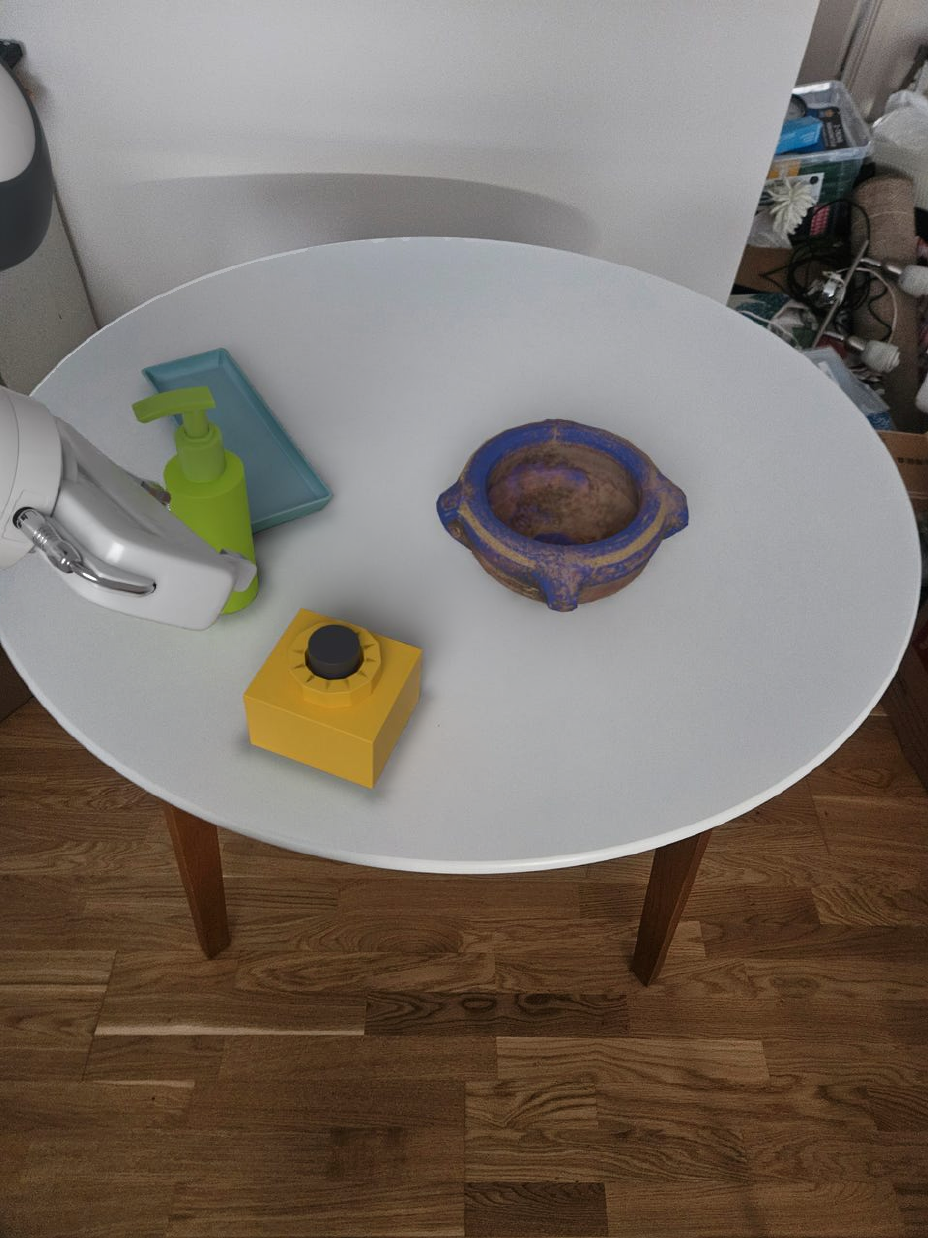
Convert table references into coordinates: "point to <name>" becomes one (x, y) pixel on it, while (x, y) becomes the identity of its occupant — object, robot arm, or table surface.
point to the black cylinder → (334, 651)
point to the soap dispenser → (205, 479)
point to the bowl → (562, 511)
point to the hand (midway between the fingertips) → (202, 536)
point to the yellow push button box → (334, 702)
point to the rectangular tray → (248, 437)
